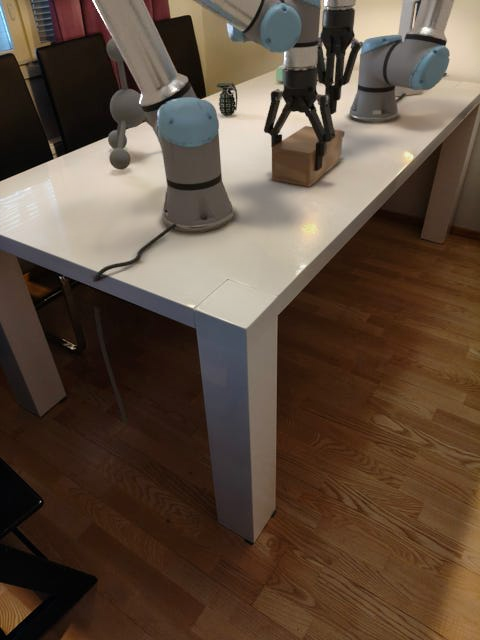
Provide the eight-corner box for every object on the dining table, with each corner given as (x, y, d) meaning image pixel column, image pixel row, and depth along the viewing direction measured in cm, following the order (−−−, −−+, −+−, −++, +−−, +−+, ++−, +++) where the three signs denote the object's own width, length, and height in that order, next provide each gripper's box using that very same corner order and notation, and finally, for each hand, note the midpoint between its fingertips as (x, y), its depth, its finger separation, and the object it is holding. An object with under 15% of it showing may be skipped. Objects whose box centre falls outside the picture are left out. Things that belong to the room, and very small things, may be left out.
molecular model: (192, 161, 135) (179, 37, 117) (113, 175, 129) (86, 48, 111) (170, 137, 153) (156, 27, 134) (100, 149, 147) (74, 35, 128)
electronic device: (392, 97, 177) (405, -1, 159) (382, 92, 183) (394, -3, 165) (423, 93, 180) (439, -4, 161) (412, 88, 185) (426, -6, 167)
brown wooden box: (304, 156, 134) (305, 125, 130) (339, 161, 130) (342, 130, 125) (271, 179, 122) (271, 147, 117) (309, 186, 118) (310, 153, 113)
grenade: (217, 117, 168) (214, 86, 162) (221, 112, 172) (219, 82, 166) (235, 117, 166) (233, 86, 160) (239, 113, 171) (238, 82, 165)
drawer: (319, 143, 139) (320, 121, 135) (349, 148, 135) (351, 125, 131) (280, 171, 124) (280, 147, 120) (313, 177, 120) (314, 152, 116)
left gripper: (356, 66, 105) (347, 167, 118) (263, 60, 115) (265, 154, 128) (342, 73, 100) (334, 178, 113) (247, 66, 110) (250, 163, 123)
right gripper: (371, 6, 114) (360, 112, 129) (320, 5, 120) (315, 107, 134) (359, 10, 109) (349, 119, 124) (307, 9, 115) (303, 113, 129)
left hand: (297, 165), depth 121 cm, fingers closed on brown wooden box, 10 cm apart
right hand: (331, 112), depth 129 cm, fingers closed
